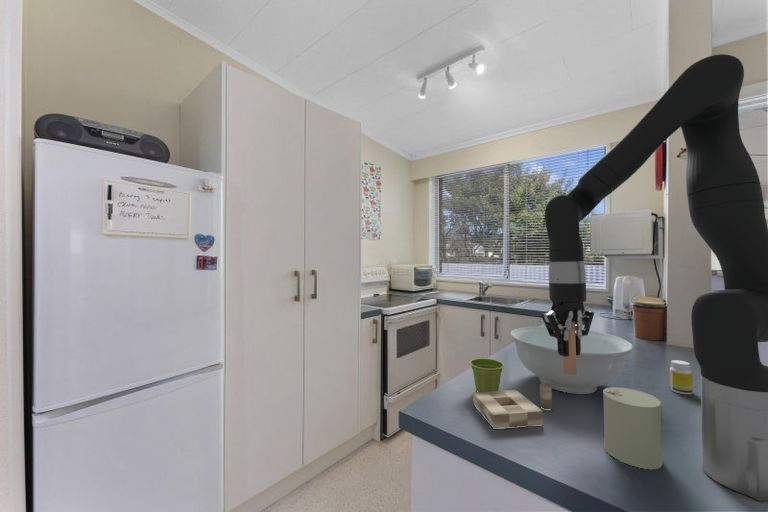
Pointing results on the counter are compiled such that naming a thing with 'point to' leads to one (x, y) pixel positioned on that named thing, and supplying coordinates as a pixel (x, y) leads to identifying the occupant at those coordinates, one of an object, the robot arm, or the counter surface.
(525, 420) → the socket block
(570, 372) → the long dowel
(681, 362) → the supplement bottle
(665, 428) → the counter surface
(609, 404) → the can
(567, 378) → the bowl
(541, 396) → the short dowel
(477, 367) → the plant pot
